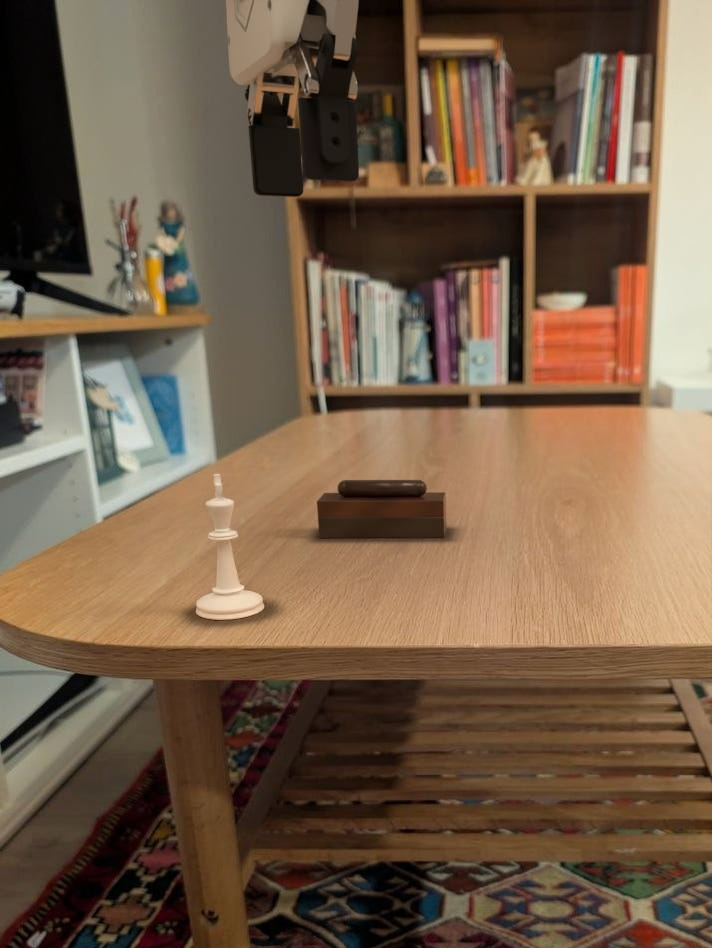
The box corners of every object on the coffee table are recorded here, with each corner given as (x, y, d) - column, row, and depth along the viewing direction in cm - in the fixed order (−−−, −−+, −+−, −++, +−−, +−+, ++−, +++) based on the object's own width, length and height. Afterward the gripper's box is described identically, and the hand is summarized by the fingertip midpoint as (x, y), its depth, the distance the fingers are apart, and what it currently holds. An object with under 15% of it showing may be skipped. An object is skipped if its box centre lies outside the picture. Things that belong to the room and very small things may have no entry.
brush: (319, 538, 91) (315, 484, 89) (326, 528, 94) (322, 476, 93) (444, 537, 90) (443, 483, 89) (446, 528, 94) (445, 476, 92)
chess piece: (259, 596, 73) (248, 466, 70) (268, 615, 69) (256, 478, 65) (193, 603, 71) (178, 471, 68) (198, 623, 67) (182, 483, 64)
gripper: (177, -111, 57) (207, 198, 63) (259, -247, 43) (288, 169, 49) (296, -89, 61) (314, 203, 67) (409, -208, 47) (419, 176, 52)
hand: (303, 188), depth 58 cm, fingers open, 9 cm apart
